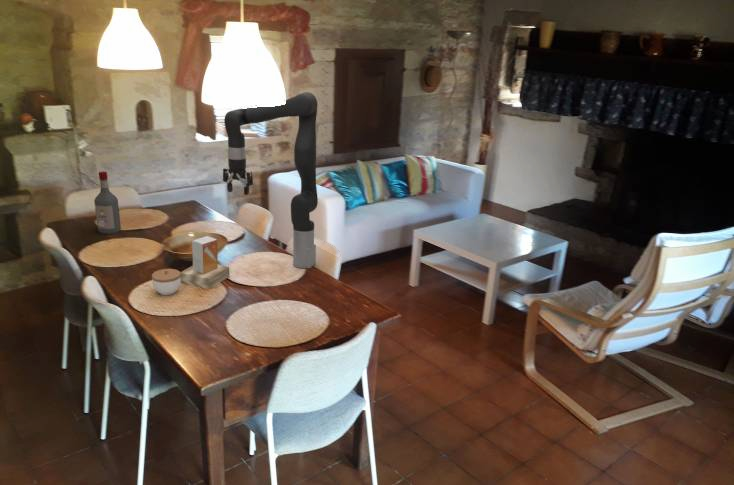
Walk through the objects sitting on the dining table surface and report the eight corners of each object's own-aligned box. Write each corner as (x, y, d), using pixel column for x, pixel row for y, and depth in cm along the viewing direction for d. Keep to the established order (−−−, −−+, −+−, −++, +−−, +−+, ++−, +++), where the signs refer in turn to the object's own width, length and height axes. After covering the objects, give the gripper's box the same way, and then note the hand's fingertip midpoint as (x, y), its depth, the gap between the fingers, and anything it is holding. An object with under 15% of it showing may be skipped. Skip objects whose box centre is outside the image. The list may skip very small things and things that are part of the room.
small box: (203, 274, 233) (202, 244, 229) (192, 270, 237) (191, 240, 232) (218, 268, 240) (217, 239, 235) (207, 264, 243) (206, 235, 238)
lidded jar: (152, 299, 221) (150, 276, 218) (154, 287, 231) (152, 265, 227) (181, 296, 224) (180, 274, 221) (182, 285, 234) (180, 264, 230)
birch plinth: (229, 277, 244) (229, 266, 242) (209, 290, 231) (209, 279, 230) (201, 271, 248) (201, 260, 246) (181, 283, 236) (180, 272, 234)
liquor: (113, 234, 283) (105, 175, 273) (95, 232, 284) (88, 173, 274) (123, 228, 292) (116, 171, 281) (106, 227, 293) (99, 169, 282)
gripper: (255, 157, 249) (256, 193, 255) (228, 153, 255) (230, 188, 260) (245, 160, 243) (246, 197, 249) (218, 156, 248) (219, 192, 254)
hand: (238, 193), depth 255 cm, fingers open, 8 cm apart
